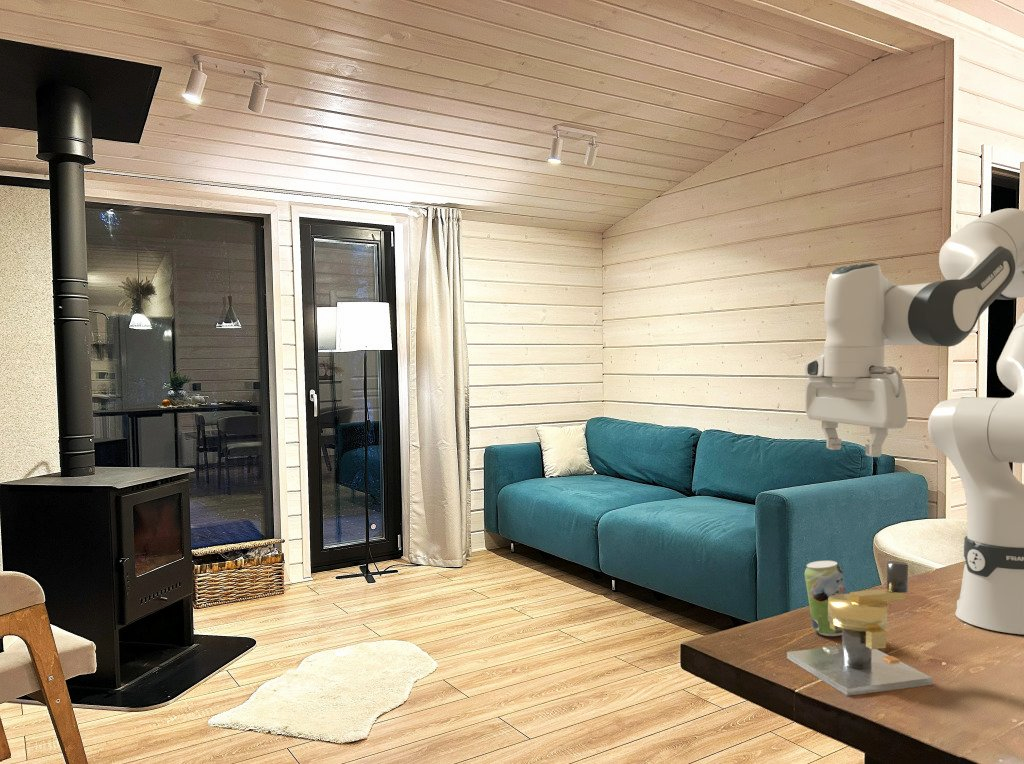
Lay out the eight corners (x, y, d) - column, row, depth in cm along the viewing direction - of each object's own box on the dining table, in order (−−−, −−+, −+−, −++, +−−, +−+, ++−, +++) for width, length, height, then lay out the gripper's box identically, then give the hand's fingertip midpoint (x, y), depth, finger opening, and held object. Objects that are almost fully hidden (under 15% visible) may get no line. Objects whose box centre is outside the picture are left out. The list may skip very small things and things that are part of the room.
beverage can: (854, 641, 130) (855, 568, 129) (807, 638, 131) (807, 566, 131) (846, 628, 136) (847, 558, 135) (801, 625, 137) (801, 556, 137)
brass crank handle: (927, 642, 115) (928, 570, 115) (854, 651, 112) (855, 577, 111) (882, 622, 124) (883, 555, 124) (813, 629, 121) (814, 561, 120)
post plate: (864, 649, 126) (865, 605, 126) (932, 684, 112) (932, 635, 112) (787, 658, 122) (787, 613, 122) (847, 695, 109) (847, 645, 109)
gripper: (919, 366, 117) (918, 460, 117) (830, 365, 137) (829, 445, 137) (882, 366, 115) (881, 461, 116) (798, 365, 135) (797, 446, 135)
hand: (852, 452), depth 127 cm, fingers open, 8 cm apart
